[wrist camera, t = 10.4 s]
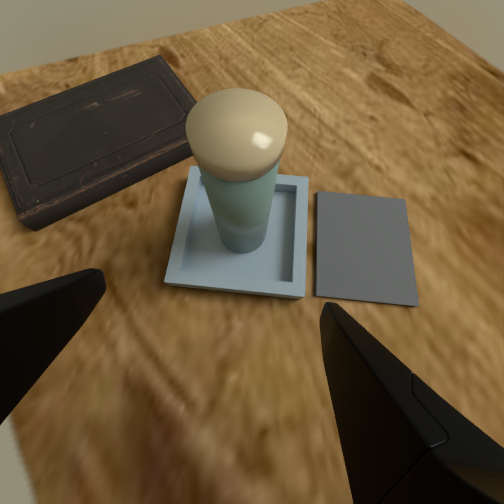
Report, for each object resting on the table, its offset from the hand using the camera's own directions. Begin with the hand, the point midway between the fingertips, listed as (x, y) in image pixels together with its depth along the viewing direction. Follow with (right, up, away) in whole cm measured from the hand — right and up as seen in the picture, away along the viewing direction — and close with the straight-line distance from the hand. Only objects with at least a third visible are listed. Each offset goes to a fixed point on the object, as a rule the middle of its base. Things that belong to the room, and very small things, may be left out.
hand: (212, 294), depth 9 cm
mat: (+14, +2, +15) cm, 21 cm away
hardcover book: (-16, +16, +20) cm, 30 cm away
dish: (+1, +4, +16) cm, 16 cm away
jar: (+1, +4, +15) cm, 16 cm away
